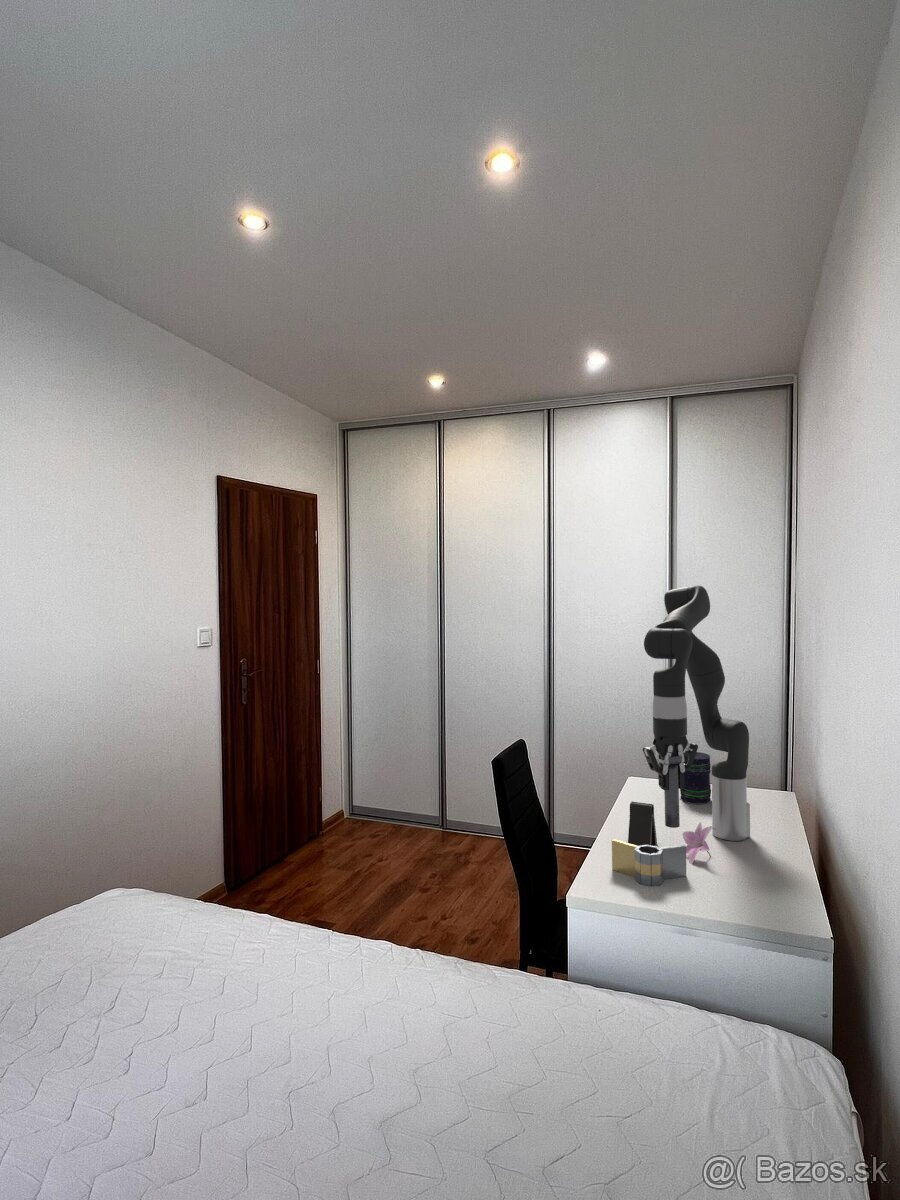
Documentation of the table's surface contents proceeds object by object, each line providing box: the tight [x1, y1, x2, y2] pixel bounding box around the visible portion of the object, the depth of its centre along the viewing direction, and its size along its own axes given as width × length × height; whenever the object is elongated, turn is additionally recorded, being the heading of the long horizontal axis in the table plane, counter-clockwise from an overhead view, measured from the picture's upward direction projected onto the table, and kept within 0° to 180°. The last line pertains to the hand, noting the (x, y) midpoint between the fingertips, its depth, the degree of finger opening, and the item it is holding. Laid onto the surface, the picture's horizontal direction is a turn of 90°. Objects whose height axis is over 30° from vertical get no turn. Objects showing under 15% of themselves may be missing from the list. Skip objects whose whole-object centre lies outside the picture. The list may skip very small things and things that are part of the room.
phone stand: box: [627, 801, 658, 846], centre depth 186 cm, size 9×6×12 cm, turn 150°
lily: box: [682, 821, 713, 865], centre depth 178 cm, size 11×11×9 cm
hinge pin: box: [660, 755, 682, 829], centre depth 157 cm, size 5×5×16 cm
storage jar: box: [679, 751, 712, 805], centre depth 227 cm, size 10×10×15 cm
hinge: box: [611, 838, 687, 887], centre depth 168 cm, size 15×12×8 cm
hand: (671, 788), depth 157 cm, fingers closed on hinge pin, 3 cm apart
